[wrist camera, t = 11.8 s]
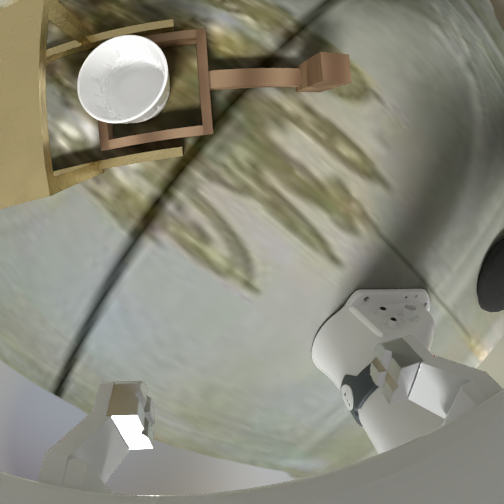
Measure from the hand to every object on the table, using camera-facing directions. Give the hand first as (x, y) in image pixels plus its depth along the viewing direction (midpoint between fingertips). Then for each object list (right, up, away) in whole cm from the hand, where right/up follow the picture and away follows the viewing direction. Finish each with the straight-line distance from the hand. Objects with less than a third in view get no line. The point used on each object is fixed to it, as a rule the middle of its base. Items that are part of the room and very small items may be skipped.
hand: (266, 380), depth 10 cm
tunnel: (-22, +21, +18) cm, 36 cm away
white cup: (-13, +22, +20) cm, 32 cm away
